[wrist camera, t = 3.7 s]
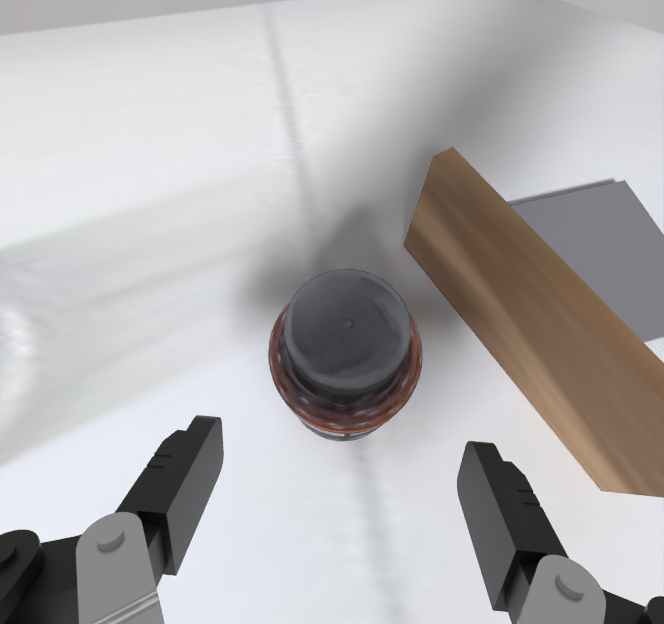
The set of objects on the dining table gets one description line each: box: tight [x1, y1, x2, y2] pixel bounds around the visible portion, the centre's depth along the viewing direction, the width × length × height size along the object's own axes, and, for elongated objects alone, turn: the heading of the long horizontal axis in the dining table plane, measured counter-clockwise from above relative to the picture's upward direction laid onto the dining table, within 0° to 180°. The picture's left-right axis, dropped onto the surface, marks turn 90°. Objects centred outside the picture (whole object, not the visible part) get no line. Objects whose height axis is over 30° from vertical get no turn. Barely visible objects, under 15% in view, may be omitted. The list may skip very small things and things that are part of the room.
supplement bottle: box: [268, 269, 422, 441], centre depth 17 cm, size 6×6×11 cm
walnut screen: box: [404, 147, 664, 497], centre depth 19 cm, size 1×18×8 cm, turn 32°
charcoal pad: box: [511, 180, 664, 342], centre depth 24 cm, size 11×11×1 cm
